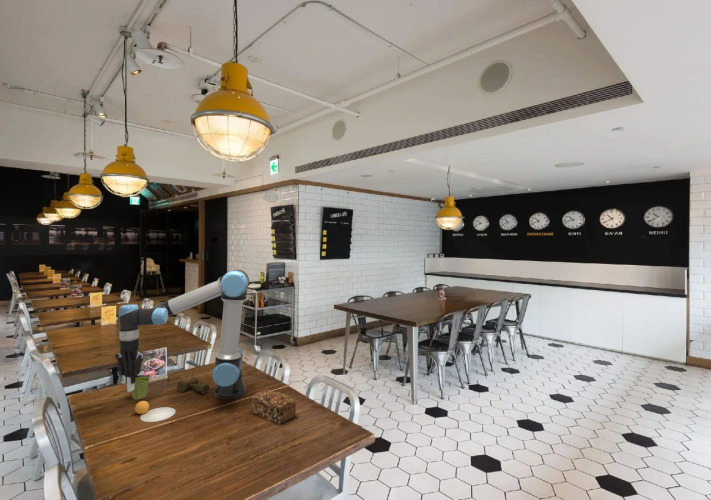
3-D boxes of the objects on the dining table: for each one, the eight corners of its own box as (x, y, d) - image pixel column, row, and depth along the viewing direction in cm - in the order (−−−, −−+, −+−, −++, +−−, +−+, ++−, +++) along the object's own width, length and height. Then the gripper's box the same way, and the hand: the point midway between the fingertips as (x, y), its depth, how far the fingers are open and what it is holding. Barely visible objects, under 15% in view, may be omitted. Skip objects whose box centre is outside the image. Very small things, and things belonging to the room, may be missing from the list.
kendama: (198, 398, 184) (171, 390, 193) (213, 392, 192) (187, 384, 201) (198, 386, 184) (172, 378, 193) (214, 381, 192) (187, 373, 201)
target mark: (181, 408, 171) (181, 408, 171) (163, 423, 157) (163, 422, 157) (153, 406, 173) (153, 406, 173) (132, 421, 159) (132, 420, 159)
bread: (251, 413, 167) (251, 392, 167) (269, 405, 176) (269, 384, 176) (279, 426, 156) (279, 402, 156) (297, 416, 165) (297, 394, 165)
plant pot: (143, 401, 178) (143, 384, 178) (124, 401, 179) (124, 383, 178) (154, 393, 188) (154, 377, 188) (136, 393, 188) (136, 376, 188)
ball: (138, 407, 169) (148, 413, 169) (130, 412, 163) (140, 418, 163) (143, 396, 169) (153, 402, 169) (136, 401, 164) (146, 406, 163)
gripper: (109, 341, 163) (111, 393, 163) (136, 341, 162) (138, 394, 162) (122, 336, 170) (123, 386, 171) (148, 337, 169) (149, 387, 170)
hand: (130, 390), depth 166 cm, fingers closed
